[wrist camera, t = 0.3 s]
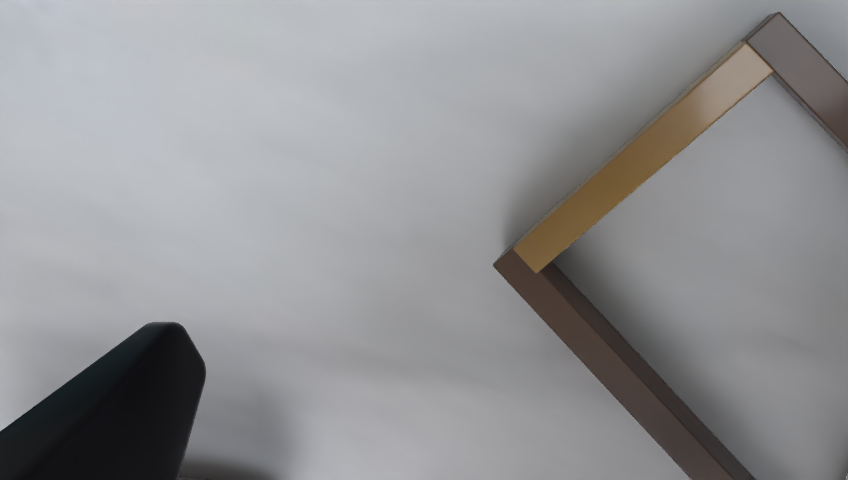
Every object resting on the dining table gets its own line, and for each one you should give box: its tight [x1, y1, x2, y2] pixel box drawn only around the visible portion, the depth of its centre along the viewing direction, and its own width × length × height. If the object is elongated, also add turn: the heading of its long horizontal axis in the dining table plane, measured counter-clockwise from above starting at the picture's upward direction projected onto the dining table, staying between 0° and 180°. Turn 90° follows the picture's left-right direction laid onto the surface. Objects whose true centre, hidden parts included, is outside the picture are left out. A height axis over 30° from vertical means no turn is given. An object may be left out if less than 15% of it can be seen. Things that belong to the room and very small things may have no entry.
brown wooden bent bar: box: [493, 12, 848, 480], centre depth 20 cm, size 17×10×2 cm, turn 45°
